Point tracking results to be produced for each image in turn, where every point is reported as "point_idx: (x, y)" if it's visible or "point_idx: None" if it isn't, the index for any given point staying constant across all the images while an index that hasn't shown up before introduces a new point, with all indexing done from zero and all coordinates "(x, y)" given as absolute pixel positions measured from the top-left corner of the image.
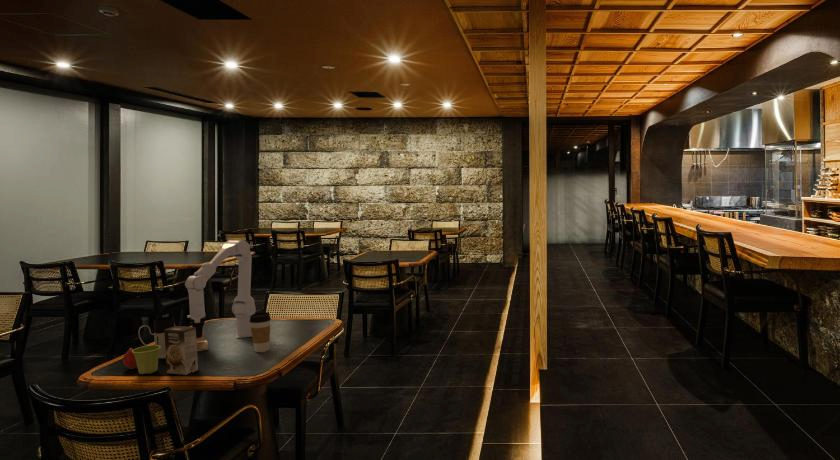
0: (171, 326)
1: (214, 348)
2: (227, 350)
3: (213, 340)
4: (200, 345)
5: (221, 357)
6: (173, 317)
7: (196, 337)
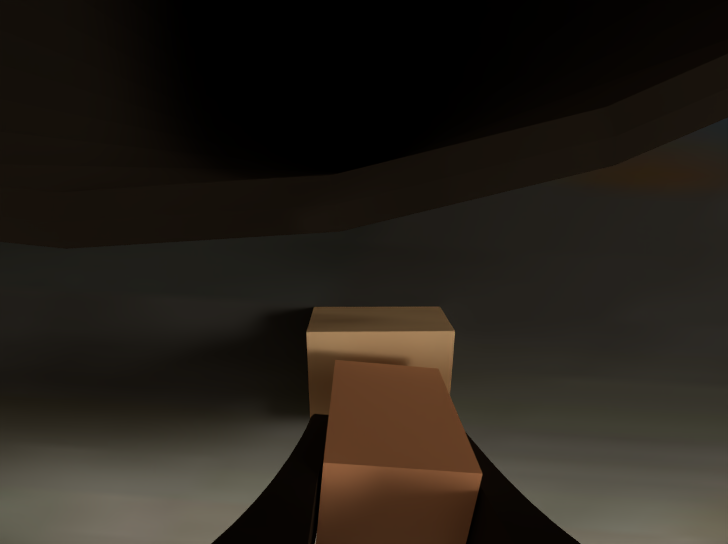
0: (2, 55)
1: None
2: (212, 519)
3: (586, 466)
4: (310, 392)
5: (31, 473)
6: (380, 167)
7: (309, 421)
